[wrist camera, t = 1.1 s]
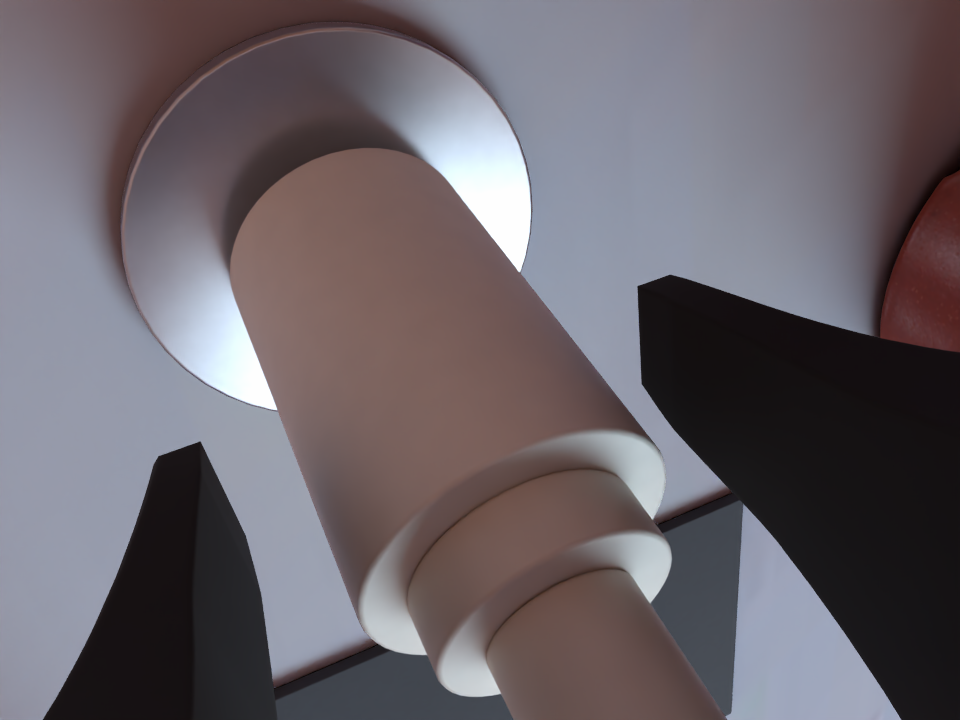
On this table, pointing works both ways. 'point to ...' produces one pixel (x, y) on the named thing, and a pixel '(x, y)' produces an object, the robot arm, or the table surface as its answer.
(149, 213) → the coaster
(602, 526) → the bottle
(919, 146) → the table surface
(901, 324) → the flower pot
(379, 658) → the mat
